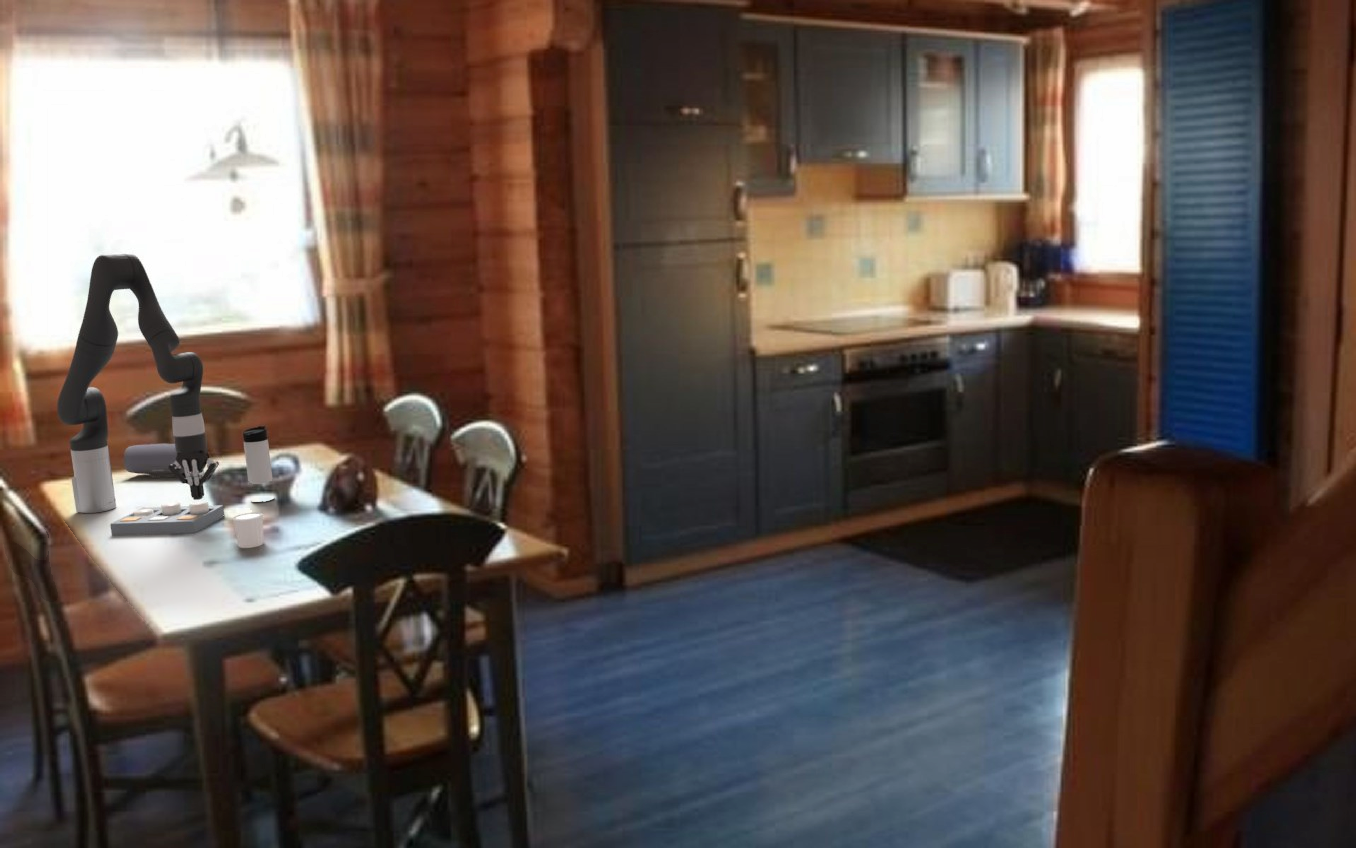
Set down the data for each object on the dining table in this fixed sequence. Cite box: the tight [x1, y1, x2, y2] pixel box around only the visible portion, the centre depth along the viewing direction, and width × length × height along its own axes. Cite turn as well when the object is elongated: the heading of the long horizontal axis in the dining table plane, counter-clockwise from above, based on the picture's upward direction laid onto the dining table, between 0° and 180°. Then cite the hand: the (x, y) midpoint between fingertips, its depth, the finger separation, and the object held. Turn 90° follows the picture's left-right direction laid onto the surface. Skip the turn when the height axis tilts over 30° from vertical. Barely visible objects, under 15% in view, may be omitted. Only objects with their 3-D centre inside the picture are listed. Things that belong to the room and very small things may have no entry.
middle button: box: [160, 502, 182, 515], centre depth 332 cm, size 5×5×3 cm
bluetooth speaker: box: [122, 443, 185, 478], centre depth 393 cm, size 23×9×10 cm, turn 77°
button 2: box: [188, 501, 209, 514], centre depth 331 cm, size 5×5×3 cm
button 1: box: [133, 509, 154, 516], centre depth 333 cm, size 5×5×3 cm
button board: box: [109, 504, 225, 536], centre depth 330 cm, size 22×16×3 cm
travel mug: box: [242, 425, 273, 484], centre depth 352 cm, size 6×7×20 cm
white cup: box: [232, 512, 264, 549], centre depth 307 cm, size 7×7×7 cm
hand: (198, 498), depth 331 cm, fingers closed
